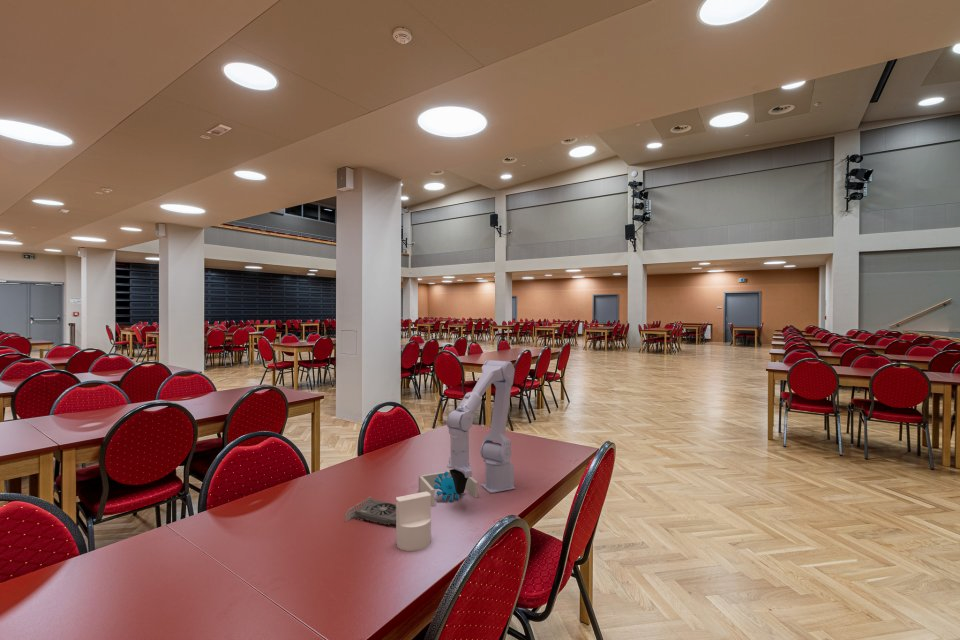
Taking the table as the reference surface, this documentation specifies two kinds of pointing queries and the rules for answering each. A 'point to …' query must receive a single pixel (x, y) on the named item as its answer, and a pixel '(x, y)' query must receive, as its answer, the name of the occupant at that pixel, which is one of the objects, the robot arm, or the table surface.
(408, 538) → the cylinder with rectangular tab
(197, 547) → the table surface
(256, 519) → the table surface
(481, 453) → the robot arm
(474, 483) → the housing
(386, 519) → the graphics card
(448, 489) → the blue virus model
